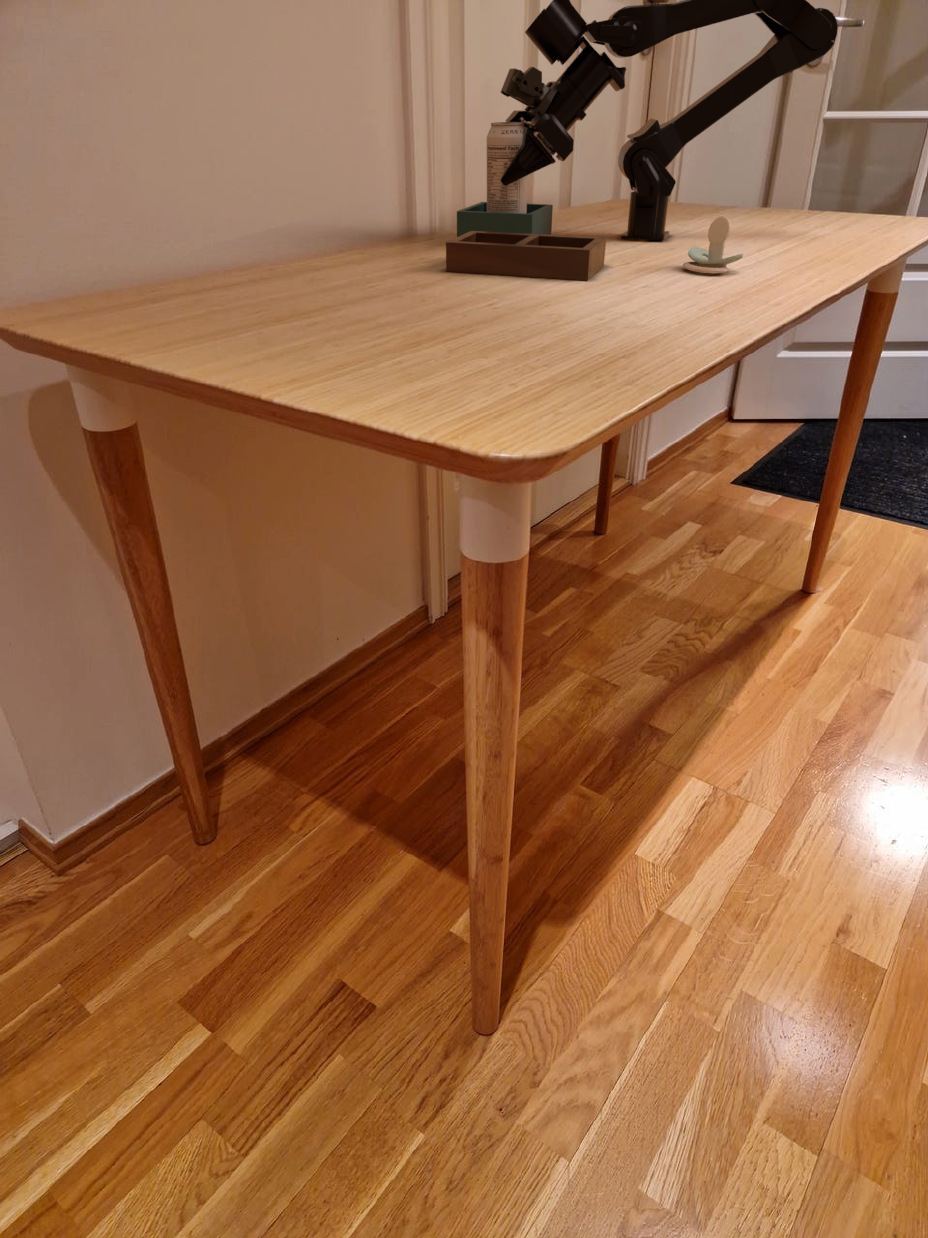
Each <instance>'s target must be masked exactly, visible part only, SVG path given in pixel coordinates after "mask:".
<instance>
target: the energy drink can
mask: <svg viewBox="0 0 928 1238" xmlns="http://www.w3.org/2000/svg"><path fill="white" fill-rule="evenodd" d="M523 127H524V122H506V121H496V122H490V127H489V131H488V132H487V134H486V202H487V212H502V213H525V214H526V212H527V204H528V202H527V201H528V175H527V176H525V177H523V178H521V179H519V180H517V181H515V182H513V183H511V184H509V185H507V186H505V185H503V183H502V182H501V178H502V176H503V174H504V173H505V171H506V170H507V168H508V166H509V165H510V163H511V162H512V160H513V159H514V157H515V155H516V154H517V152H518V151H519V149H520V148H521V146H522V138H523Z"/></svg>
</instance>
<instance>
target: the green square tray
mask: <svg viewBox="0 0 928 1238" xmlns="http://www.w3.org/2000/svg"><path fill="white" fill-rule="evenodd" d="M553 207H554V205H553V204H547V203H546V204H545V203H527V212H526V214H525V213H502V212H487V201H480V202H478V203H475V204H472V205H470V206H468V207H465V208H462V209H459V210H457V211H456V238H457V237H459V236H461V235H463V234H465V233H468V232H470V231H485V232H504V233H524V234H544V235H552V228H553Z"/></svg>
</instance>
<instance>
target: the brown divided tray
mask: <svg viewBox="0 0 928 1238" xmlns="http://www.w3.org/2000/svg"><path fill="white" fill-rule="evenodd" d="M606 244H607V237H605V236H604V237H600V236H583V235H563V234H562V235H561V234H551V235H544V234H524V233H504V232H485V231H470V232H468V233H465V234H463V235H461V236H459V237H457V236H456V237H455V238H452V239H449V240H447V241H446V242H445V272H447V273H448V272H449V273H464V274H465V273H466V274H477V275H478V274H479V275H480V274H481V275H497V276H509V277H527V278H540V279H541V278H542V279H554V280H555V279H557V280H571V281H572V280H573V281H585V282H586V281H589V280H590V279H591V278H592V277H593V276H595V275H596V274H597V273H598V272H599V271H601V269H602V268H604V267H605V257H606V246H607V245H606Z"/></svg>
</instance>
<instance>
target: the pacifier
mask: <svg viewBox="0 0 928 1238" xmlns="http://www.w3.org/2000/svg"><path fill="white" fill-rule="evenodd" d="M731 230H732V225H731V222H730V220H729V219H728V218H727V217H725V216H724V215H723V216H718V217H716V218H715V219H714V220H713V221H712V222H711V223H710V225H709V228H708V231H707V238H708V241H709V246H708V250H707V249H705V248H703V247H700V246H690V247H689V248H688V251H687V256H688V257H689V258H690V259H691V260H692V261H685V262H683V263H682V265H681V266H682V268H684V269H685V270H688V271H691V272H694V273H695V272H696V273H702V274H703V273H705V274H725V273H727V272H728V271H729V267H727V265H728V264H732V263H735V262H737V261H740V260H742V259H743V257H744V253H739V254H738V253H737V254H736V255H731V256H728V257H724V258H723V256H724V250H725V244H726V240H728V238H729V237H730V234H731Z"/></svg>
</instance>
